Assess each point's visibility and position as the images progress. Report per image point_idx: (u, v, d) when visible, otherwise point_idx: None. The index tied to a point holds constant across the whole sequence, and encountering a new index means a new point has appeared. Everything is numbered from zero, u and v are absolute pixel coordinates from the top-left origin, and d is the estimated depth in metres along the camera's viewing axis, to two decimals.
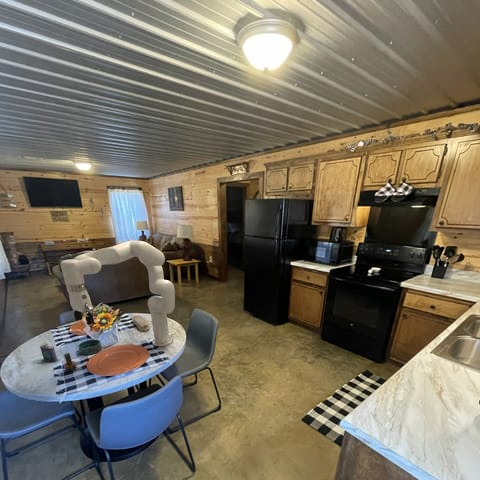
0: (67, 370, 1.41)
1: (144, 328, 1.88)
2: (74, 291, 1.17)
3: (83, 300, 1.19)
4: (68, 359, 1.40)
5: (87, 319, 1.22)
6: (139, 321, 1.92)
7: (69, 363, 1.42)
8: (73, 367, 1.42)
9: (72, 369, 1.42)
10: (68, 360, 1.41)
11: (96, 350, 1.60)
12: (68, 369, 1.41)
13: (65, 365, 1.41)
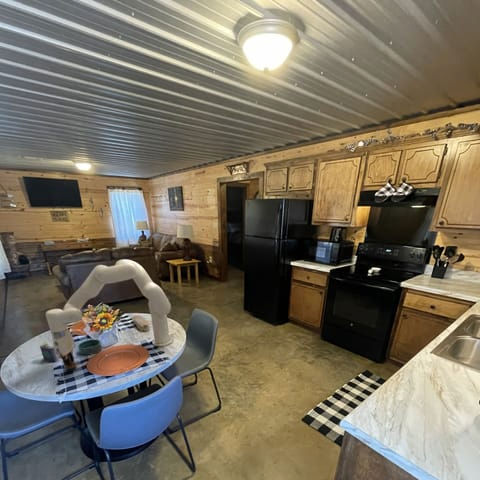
0: (67, 370, 1.41)
1: (144, 328, 1.88)
2: (52, 336, 1.33)
3: (55, 346, 1.33)
4: None
5: None
6: (139, 321, 1.92)
7: None
8: (73, 367, 1.42)
9: (72, 369, 1.42)
10: None
11: (96, 350, 1.60)
12: (68, 369, 1.41)
13: (65, 365, 1.41)
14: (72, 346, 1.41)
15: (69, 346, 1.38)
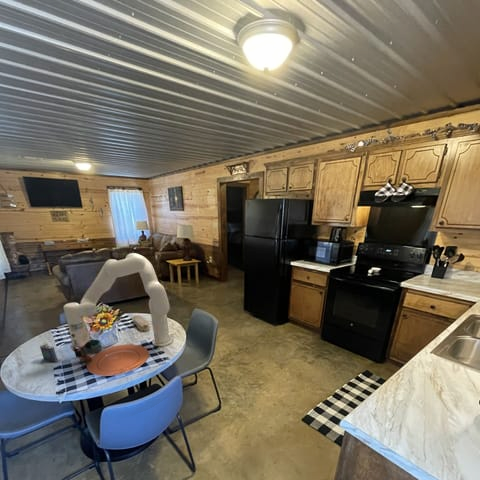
0: (82, 362, 1.49)
1: (144, 328, 1.88)
2: (69, 328, 1.41)
3: (72, 337, 1.40)
4: (83, 351, 1.48)
5: None
6: (139, 321, 1.92)
7: (84, 355, 1.49)
8: (88, 359, 1.50)
9: (87, 361, 1.50)
10: (83, 352, 1.48)
11: (96, 350, 1.60)
12: (83, 361, 1.49)
13: (80, 357, 1.49)
14: (87, 338, 1.48)
15: (85, 338, 1.46)
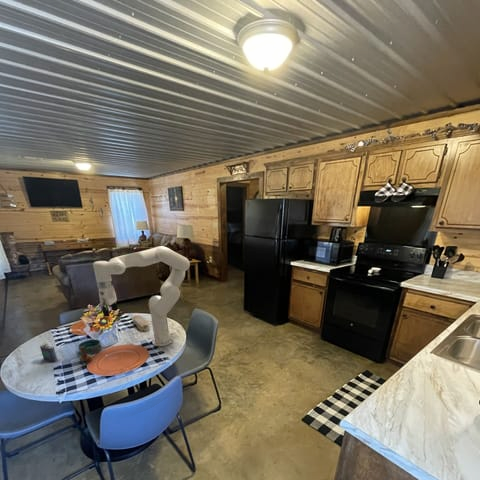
0: (82, 362, 1.49)
1: (144, 328, 1.88)
2: (98, 286, 1.42)
3: (101, 295, 1.41)
4: (83, 351, 1.48)
5: (103, 311, 1.45)
6: (139, 321, 1.92)
7: (84, 355, 1.49)
8: (88, 359, 1.50)
9: (87, 361, 1.50)
10: (83, 352, 1.48)
11: (96, 350, 1.60)
12: (83, 361, 1.49)
13: (80, 357, 1.49)
14: (114, 298, 1.49)
15: (112, 298, 1.47)
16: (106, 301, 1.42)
